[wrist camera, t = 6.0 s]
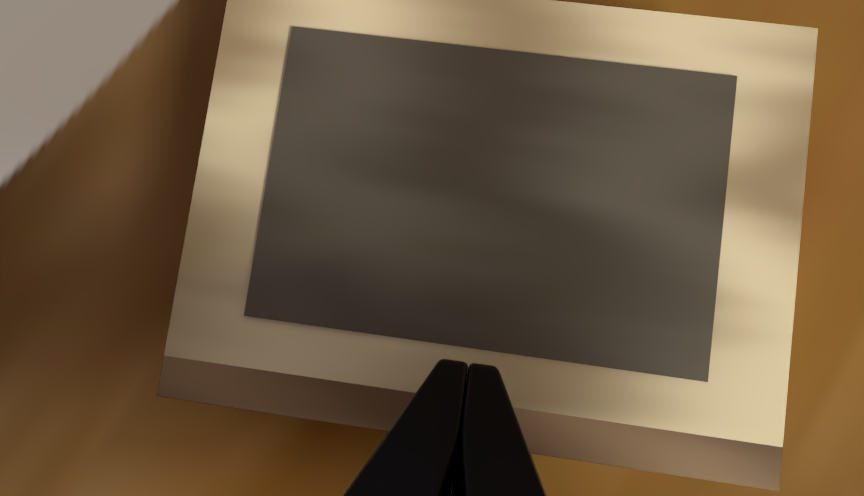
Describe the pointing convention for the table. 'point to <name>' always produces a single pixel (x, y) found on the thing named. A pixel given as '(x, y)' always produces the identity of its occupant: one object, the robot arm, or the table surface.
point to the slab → (504, 222)
